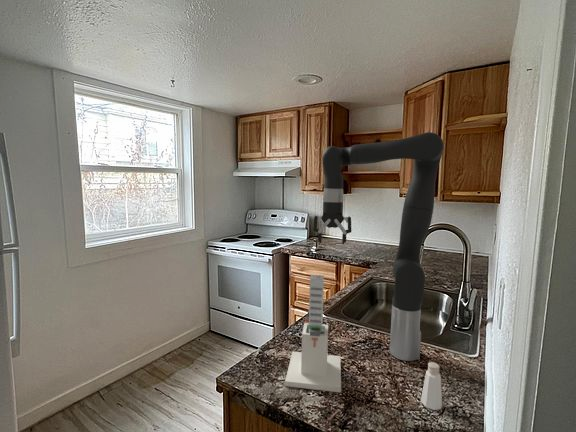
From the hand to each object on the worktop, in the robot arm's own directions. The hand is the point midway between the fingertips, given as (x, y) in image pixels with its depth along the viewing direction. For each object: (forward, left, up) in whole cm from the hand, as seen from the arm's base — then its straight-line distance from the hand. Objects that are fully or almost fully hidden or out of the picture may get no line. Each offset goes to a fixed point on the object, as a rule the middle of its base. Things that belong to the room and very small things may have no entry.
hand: (331, 243), depth 116 cm
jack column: (+4, +26, -28) cm, 38 cm away
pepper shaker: (-28, +34, -36) cm, 57 cm away
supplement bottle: (+6, +6, -36) cm, 37 cm away
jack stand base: (+4, +26, -36) cm, 45 cm away
